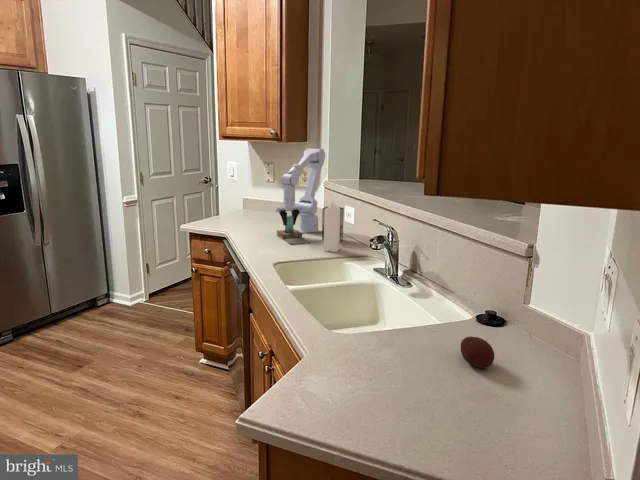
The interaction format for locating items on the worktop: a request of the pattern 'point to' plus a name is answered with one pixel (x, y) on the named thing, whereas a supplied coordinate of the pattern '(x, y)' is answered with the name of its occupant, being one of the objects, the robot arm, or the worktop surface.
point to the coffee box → (340, 223)
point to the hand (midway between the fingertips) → (289, 224)
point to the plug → (289, 224)
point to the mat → (296, 241)
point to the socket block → (289, 234)
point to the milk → (331, 228)
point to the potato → (477, 352)
